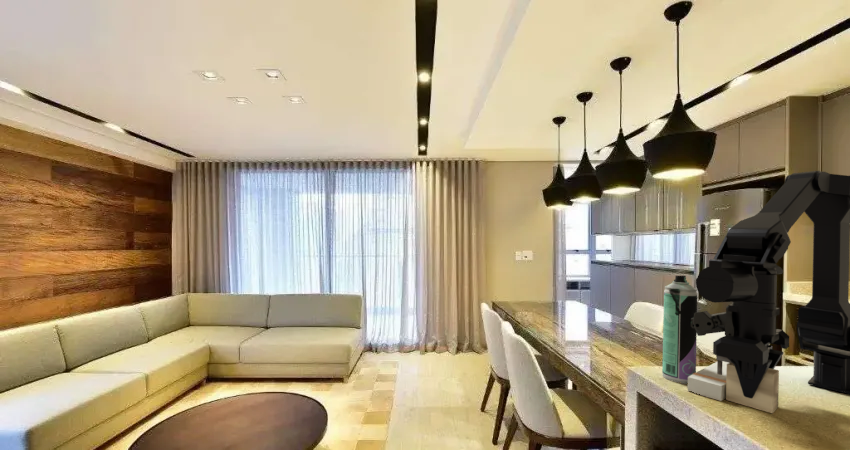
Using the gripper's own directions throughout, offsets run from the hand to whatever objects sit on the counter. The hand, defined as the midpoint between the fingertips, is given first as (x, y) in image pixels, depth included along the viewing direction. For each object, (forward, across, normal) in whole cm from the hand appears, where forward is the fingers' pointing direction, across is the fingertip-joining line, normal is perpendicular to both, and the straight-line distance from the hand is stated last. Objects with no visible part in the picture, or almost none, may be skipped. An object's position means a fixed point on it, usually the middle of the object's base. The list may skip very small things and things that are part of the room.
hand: (752, 394), depth 66 cm
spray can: (+2, -3, -12) cm, 12 cm away
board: (+2, -6, -6) cm, 8 cm away
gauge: (+2, 0, 0) cm, 2 cm away
